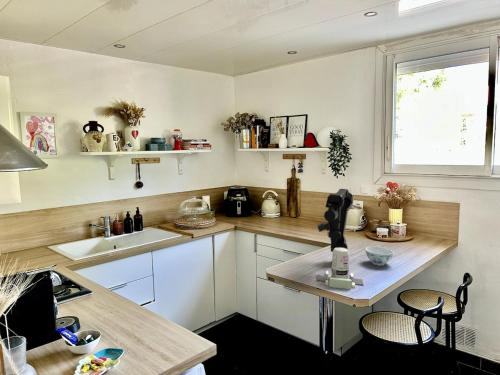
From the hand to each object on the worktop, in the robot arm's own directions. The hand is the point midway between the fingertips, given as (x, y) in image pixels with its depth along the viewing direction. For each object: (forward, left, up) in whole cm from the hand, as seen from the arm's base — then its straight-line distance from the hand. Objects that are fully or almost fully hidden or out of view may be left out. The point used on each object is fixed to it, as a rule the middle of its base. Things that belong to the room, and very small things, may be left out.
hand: (332, 247), depth 195 cm
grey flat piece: (+10, +9, -13) cm, 19 cm away
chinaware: (-28, +17, -13) cm, 35 cm away
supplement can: (+7, +7, -13) cm, 17 cm away
